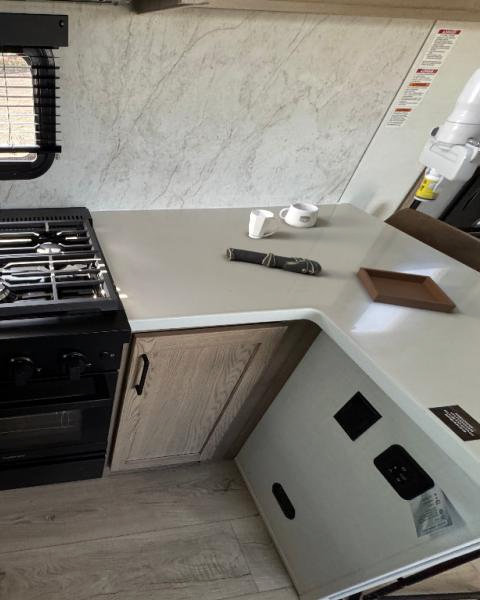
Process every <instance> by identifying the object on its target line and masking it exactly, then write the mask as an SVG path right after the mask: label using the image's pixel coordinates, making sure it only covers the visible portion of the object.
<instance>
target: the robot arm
mask: <svg viewBox="0 0 480 600" xmlns="http://www.w3.org/2000/svg"><path fill="white" fill-rule="evenodd" d="M429 136H430V137H429V138H427V140H426V142H425V145H424V147H423V149H422V150H421V152H420V156H419V160H418V163H419V164H421V165H423V166H425V167H426V169H425V172H424V177H423V179H424V178H425V176H426V175H428V174H430V173H429V172H430V171H431V169H432V168H434V169H435V172H436V173H438V174H440V175H442V176H441V177H440V181H439V182H438V183H437V184H436V185H434V186H433V188H432V189H431V190H432V191H433V192H434V193H440V194H441V193H442V192H443V191H444V189H445V188H446V187H447V186H448V185H449V184H450V183H452V182H460V183H466V182H468V181H469V180H470V179H471V178H472V177H473V176H474V173H475V172H476V170H477V168H478V166H479V164H480V66H479V67H477V68H476V70H475V71H474V72H473V73H472V75H471V76H470V77H469V79H468V81H467V82H466V83H465V85H464V86H463V89H462V90H461V92H460V94H459V95H458V97H457V99H456V102H455V106H454V109H453V110H452V111H451V113H450V114H449V116H448V117H447V118H446V119H445V122H444V123H443V124H440V125H437V126H434V127H432V128H431V130H430V132H429ZM422 182H423V180H422V181H421V183H422Z"/></svg>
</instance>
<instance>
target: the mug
mask: <svg viewBox="0 0 480 600" xmlns="http://www.w3.org/2000/svg"><path fill="white" fill-rule="evenodd" d="M319 210H320V209H319V207H318V206H316V205H314V204H311V203H307V202H293V203H291V204H290V206H289V207H285V208H282V209H281V210H280V211H279V214H278V215H279V218H281V219H283V220H284V221H285V223H286V224H288V225H290V226H292V227H296V228H311V227H314V225H315V224H316V222H317V218H318V214H319ZM285 211H287V212H286V214H285V215H284V216H283V213H284V212H285Z"/></svg>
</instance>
